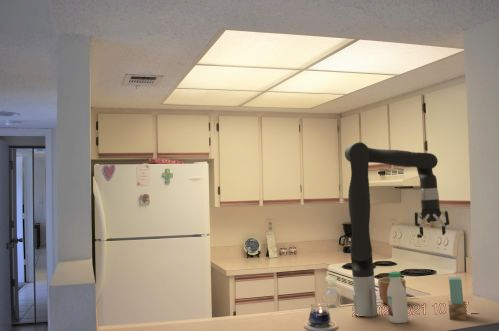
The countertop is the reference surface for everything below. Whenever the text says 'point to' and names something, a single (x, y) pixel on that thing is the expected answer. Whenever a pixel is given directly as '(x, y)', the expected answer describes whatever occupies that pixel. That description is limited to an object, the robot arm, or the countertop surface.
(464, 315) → the tower base
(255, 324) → the countertop surface
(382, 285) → the planter
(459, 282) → the teal brick
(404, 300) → the milk bottle
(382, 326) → the countertop surface
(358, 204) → the robot arm
